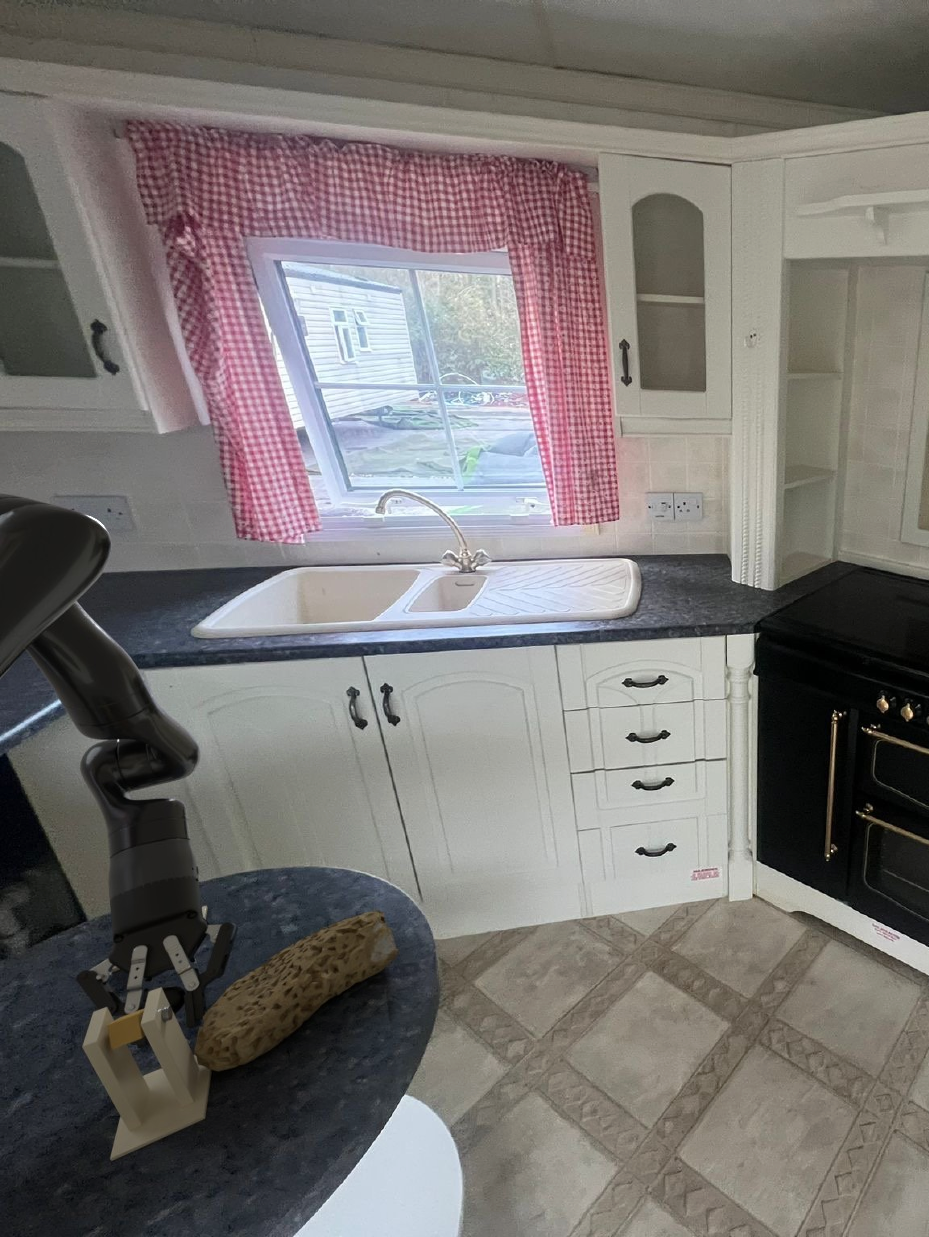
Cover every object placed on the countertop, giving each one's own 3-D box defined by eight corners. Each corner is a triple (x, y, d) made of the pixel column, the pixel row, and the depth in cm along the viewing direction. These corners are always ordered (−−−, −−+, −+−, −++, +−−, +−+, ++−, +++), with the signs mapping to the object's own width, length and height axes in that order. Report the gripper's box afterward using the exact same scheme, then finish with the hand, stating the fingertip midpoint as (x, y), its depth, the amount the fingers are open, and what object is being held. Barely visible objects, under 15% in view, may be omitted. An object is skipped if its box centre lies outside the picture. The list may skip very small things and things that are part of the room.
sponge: (377, 934, 93) (181, 1003, 78) (382, 892, 91) (180, 956, 76) (407, 1006, 86) (198, 1099, 71) (414, 964, 83) (198, 1050, 68)
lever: (152, 1021, 75) (147, 991, 76) (192, 1006, 77) (187, 977, 78) (103, 1059, 64) (97, 1023, 64) (151, 1040, 66) (145, 1005, 66)
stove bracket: (132, 1088, 72) (84, 999, 67) (216, 1053, 76) (178, 966, 71) (113, 1166, 65) (59, 1073, 60) (207, 1123, 69) (163, 1032, 64)
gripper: (54, 908, 73) (63, 1075, 68) (222, 858, 80) (242, 1004, 75) (86, 915, 79) (96, 1069, 73) (239, 868, 86) (259, 1004, 81)
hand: (170, 1035), depth 74 cm, fingers open, 3 cm apart
